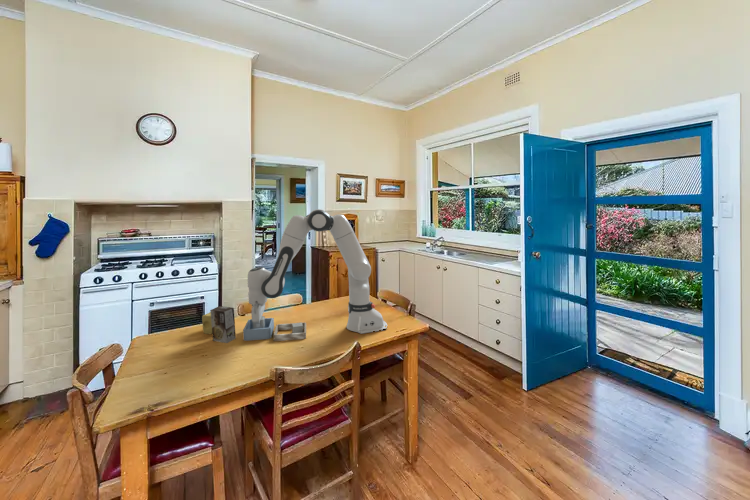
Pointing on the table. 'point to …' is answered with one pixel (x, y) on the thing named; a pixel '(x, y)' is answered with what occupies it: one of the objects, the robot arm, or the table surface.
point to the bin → (258, 330)
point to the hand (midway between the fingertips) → (259, 324)
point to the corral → (288, 336)
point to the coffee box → (223, 324)
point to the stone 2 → (297, 328)
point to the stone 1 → (262, 323)
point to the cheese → (207, 323)
